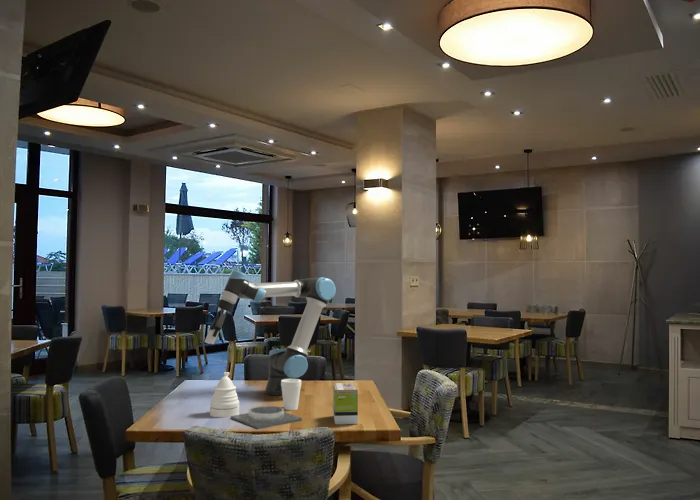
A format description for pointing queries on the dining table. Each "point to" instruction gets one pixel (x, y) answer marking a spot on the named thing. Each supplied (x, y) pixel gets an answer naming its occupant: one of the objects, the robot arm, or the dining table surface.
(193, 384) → the dining table surface
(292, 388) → the foam cup
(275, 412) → the duct flange
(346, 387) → the tea box
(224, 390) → the honey pot
